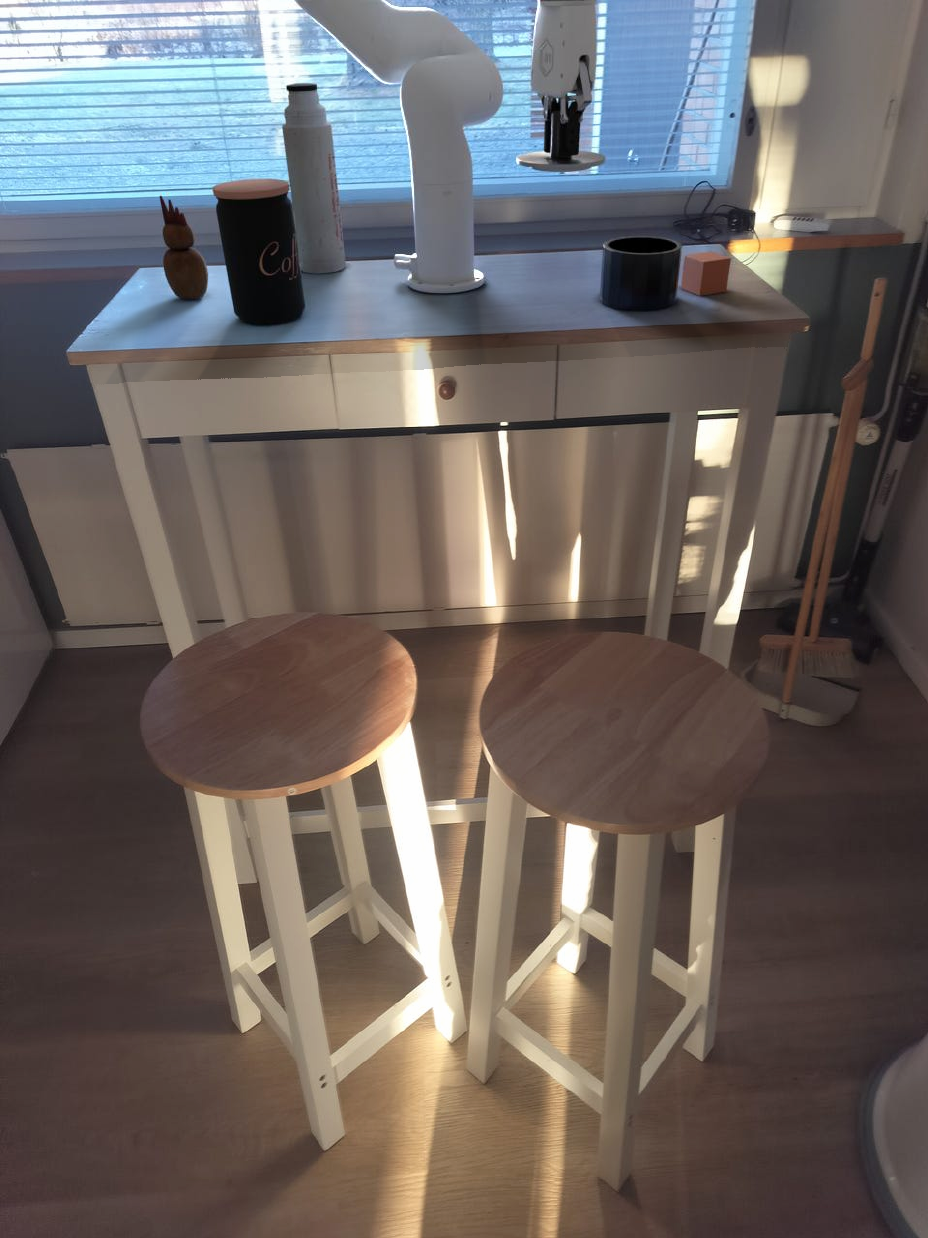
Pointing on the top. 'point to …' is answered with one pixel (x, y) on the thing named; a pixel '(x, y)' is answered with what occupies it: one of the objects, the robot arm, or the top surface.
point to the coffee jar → (260, 250)
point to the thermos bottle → (313, 181)
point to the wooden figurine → (182, 256)
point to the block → (705, 273)
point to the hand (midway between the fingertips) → (561, 152)
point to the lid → (555, 162)
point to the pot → (640, 273)
